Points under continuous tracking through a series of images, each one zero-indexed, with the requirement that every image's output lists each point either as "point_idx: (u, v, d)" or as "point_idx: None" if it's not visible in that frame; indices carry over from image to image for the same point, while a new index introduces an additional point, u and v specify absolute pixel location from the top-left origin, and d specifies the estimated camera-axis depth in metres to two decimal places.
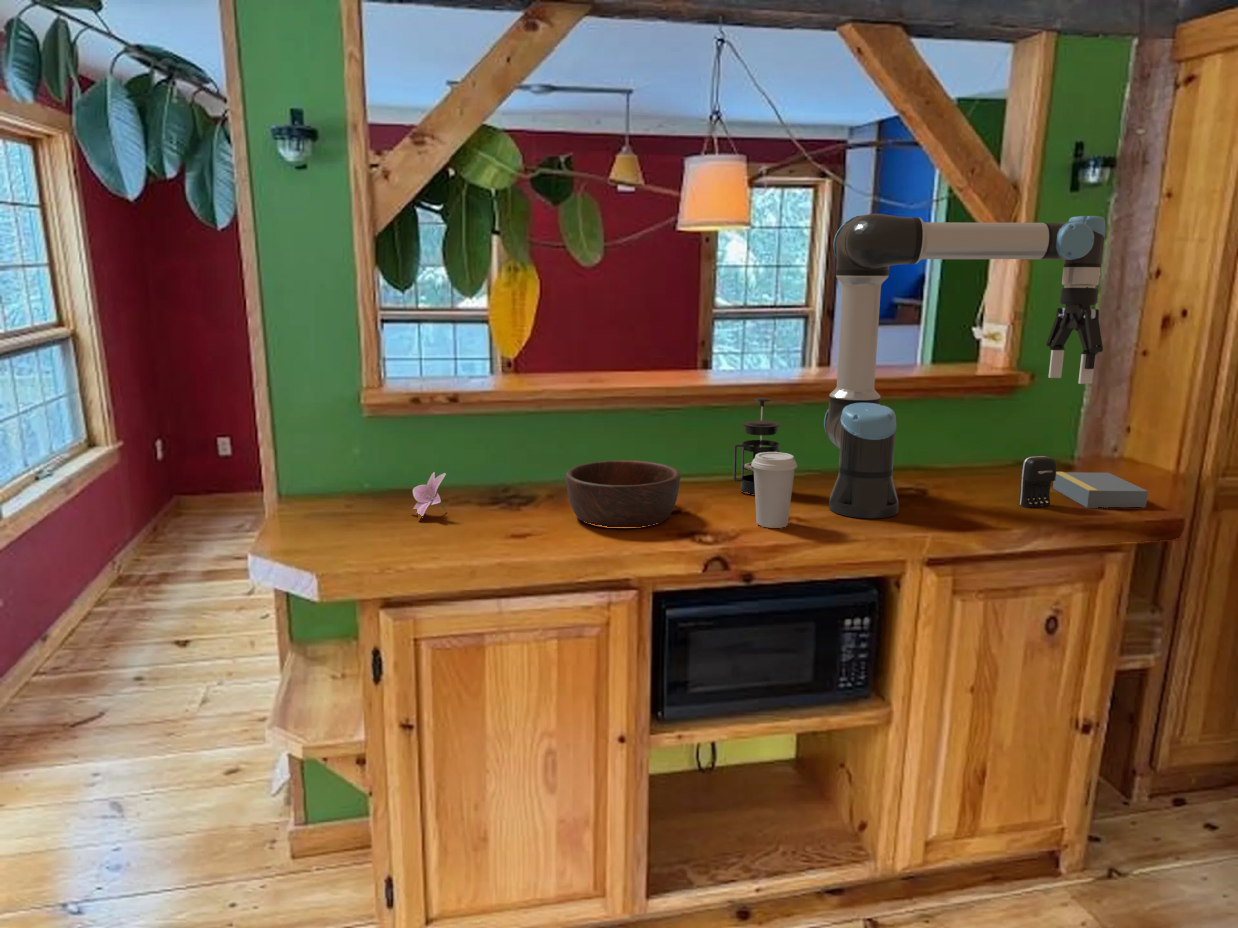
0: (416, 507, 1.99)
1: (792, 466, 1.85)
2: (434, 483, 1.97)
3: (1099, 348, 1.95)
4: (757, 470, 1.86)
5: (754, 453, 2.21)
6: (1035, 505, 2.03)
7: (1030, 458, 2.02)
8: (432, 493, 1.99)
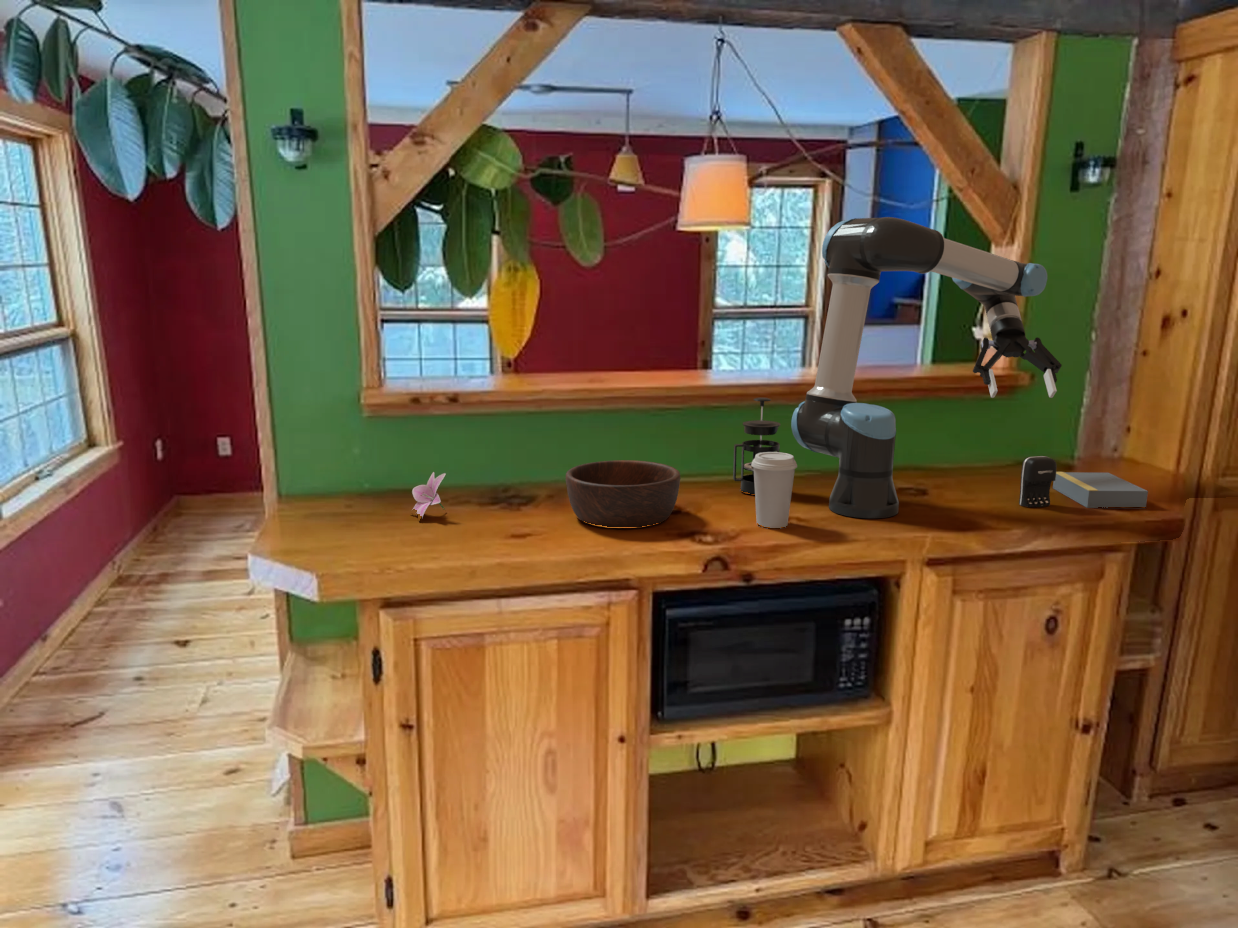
0: (416, 507, 1.99)
1: (792, 466, 1.85)
2: (434, 483, 1.97)
3: None
4: (757, 470, 1.86)
5: (754, 453, 2.21)
6: (1035, 505, 2.03)
7: (1030, 458, 2.02)
8: (432, 493, 1.99)
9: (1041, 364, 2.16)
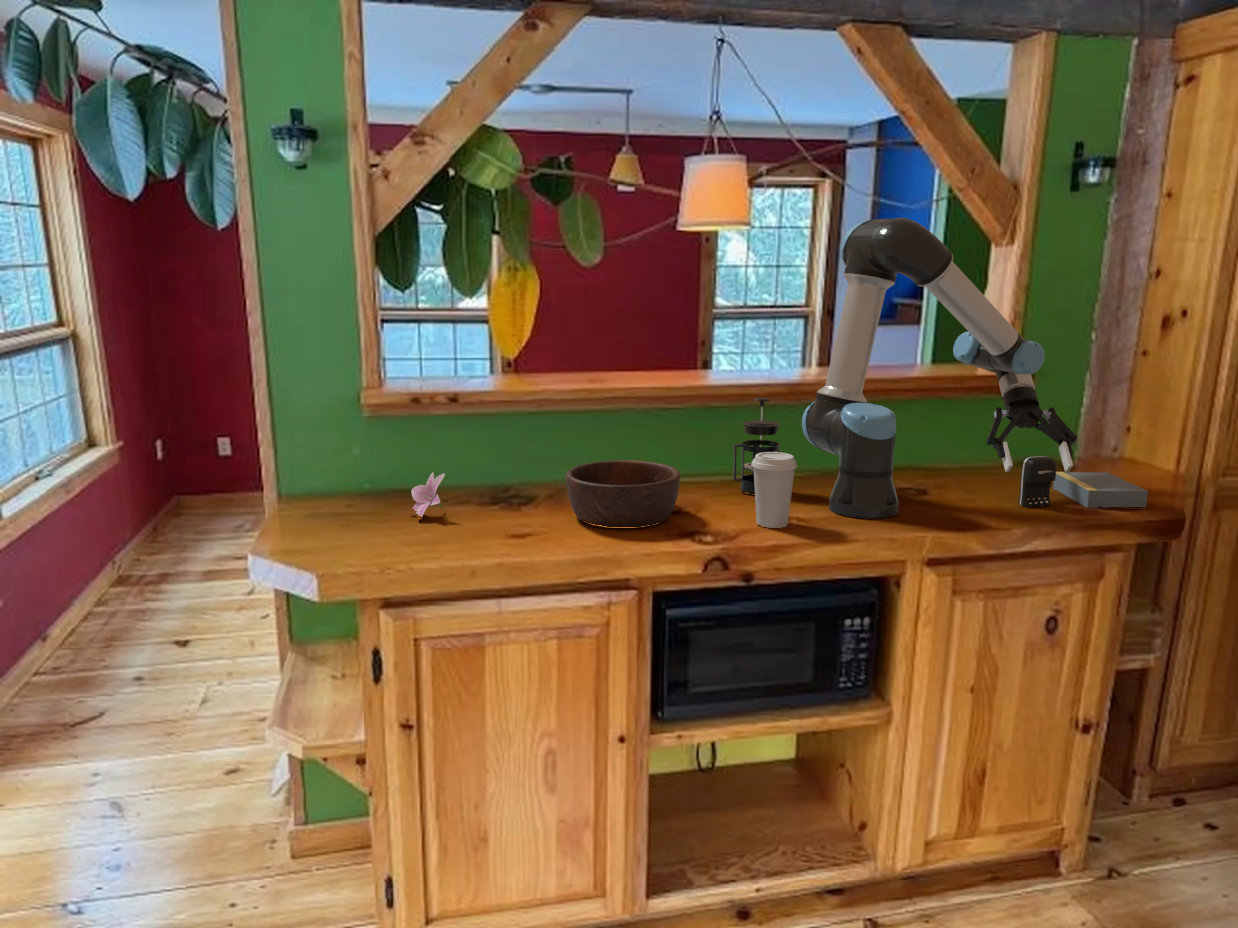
0: (415, 507, 1.99)
1: (792, 466, 1.85)
2: (433, 483, 1.97)
3: None
4: (757, 470, 1.86)
5: (754, 453, 2.21)
6: (1035, 505, 2.03)
7: (1030, 458, 2.02)
8: (431, 493, 1.99)
9: (1056, 436, 2.09)
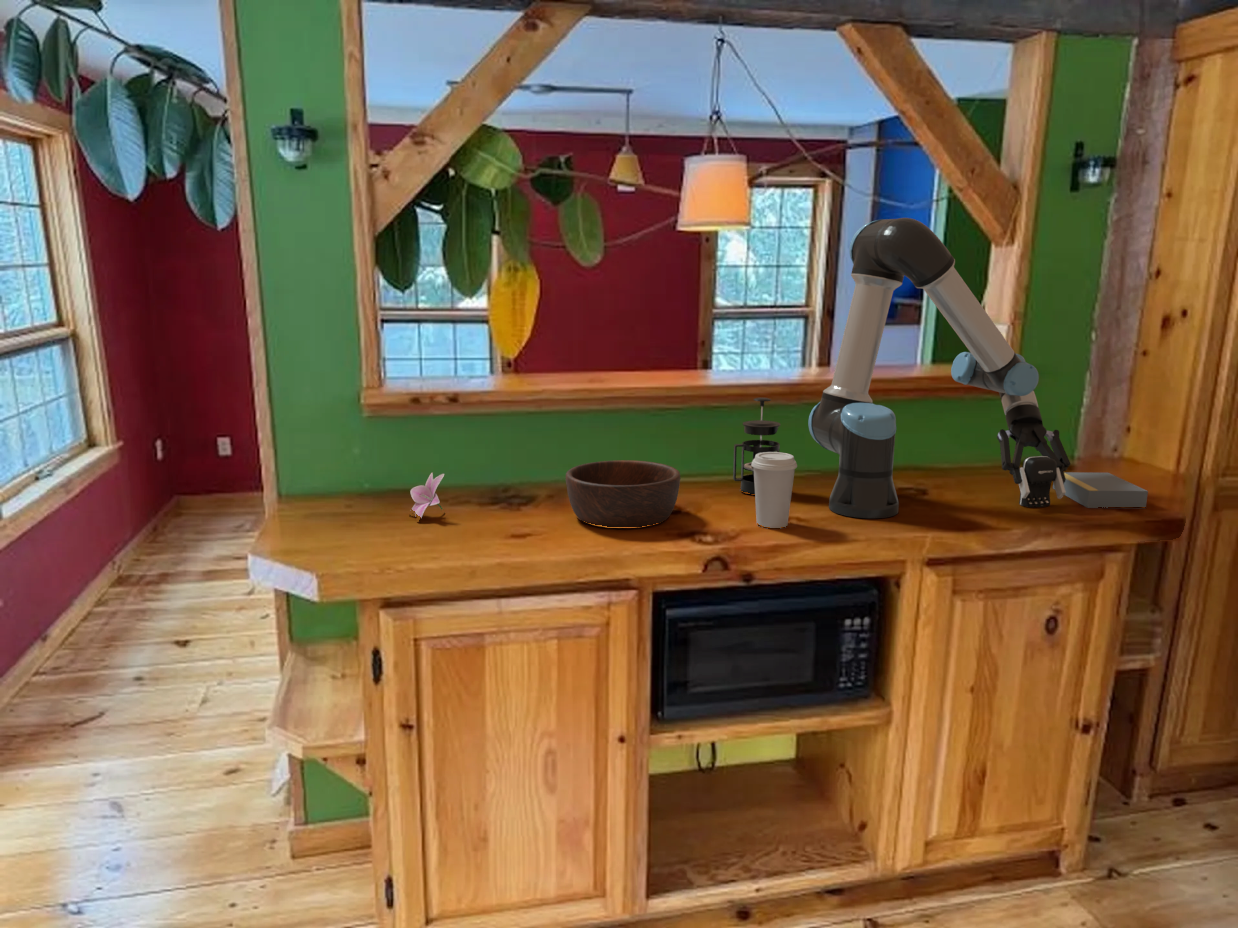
0: (414, 508, 1.98)
1: (792, 466, 1.85)
2: (432, 484, 1.97)
3: None
4: (757, 470, 1.86)
5: (754, 453, 2.21)
6: (1035, 505, 2.03)
7: (1030, 458, 2.02)
8: (430, 494, 1.98)
9: None
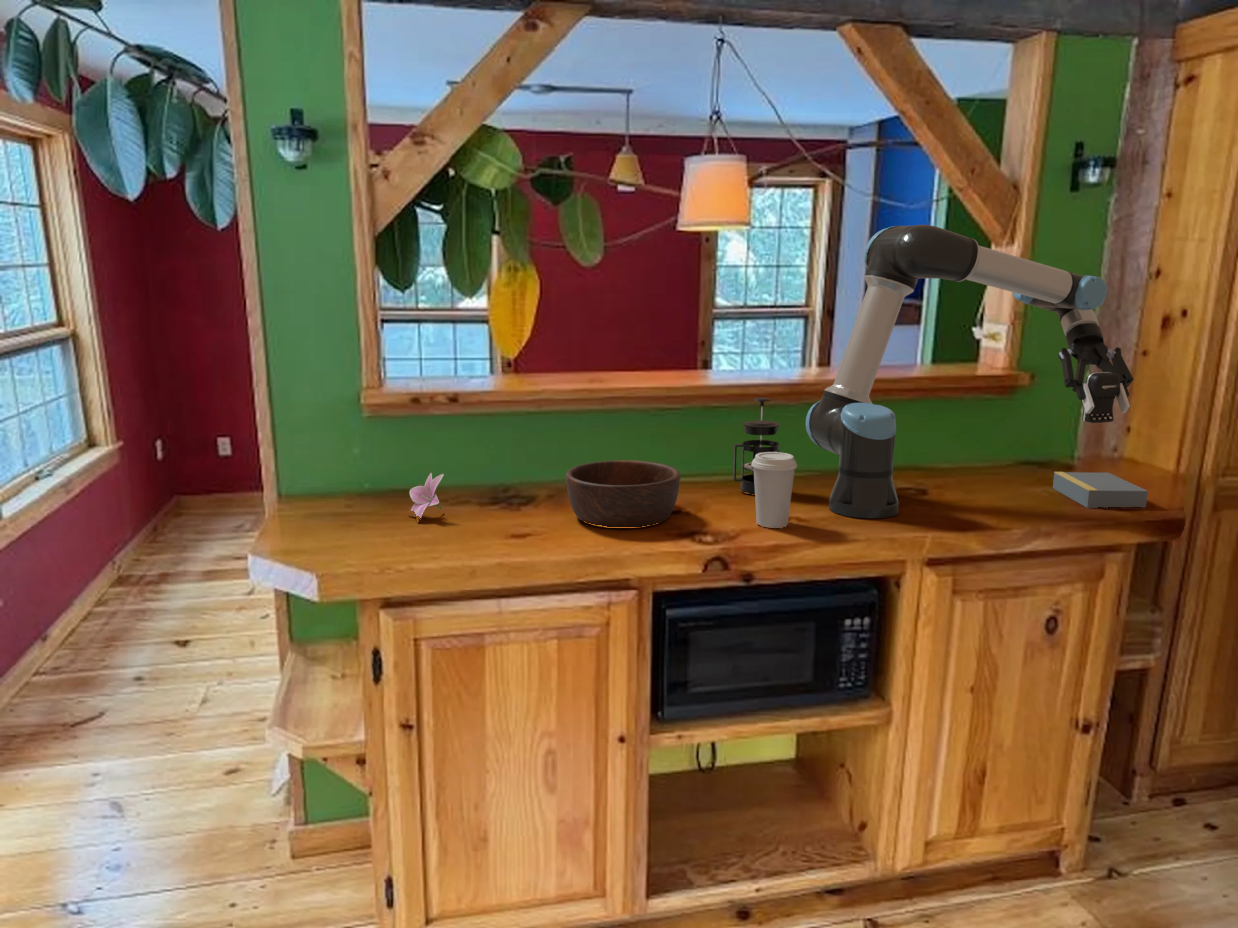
0: (413, 508, 1.98)
1: (792, 466, 1.85)
2: (432, 484, 1.97)
3: None
4: (757, 470, 1.86)
5: (754, 453, 2.21)
6: (1099, 420, 2.05)
7: (1094, 374, 2.04)
8: (429, 494, 1.98)
9: None
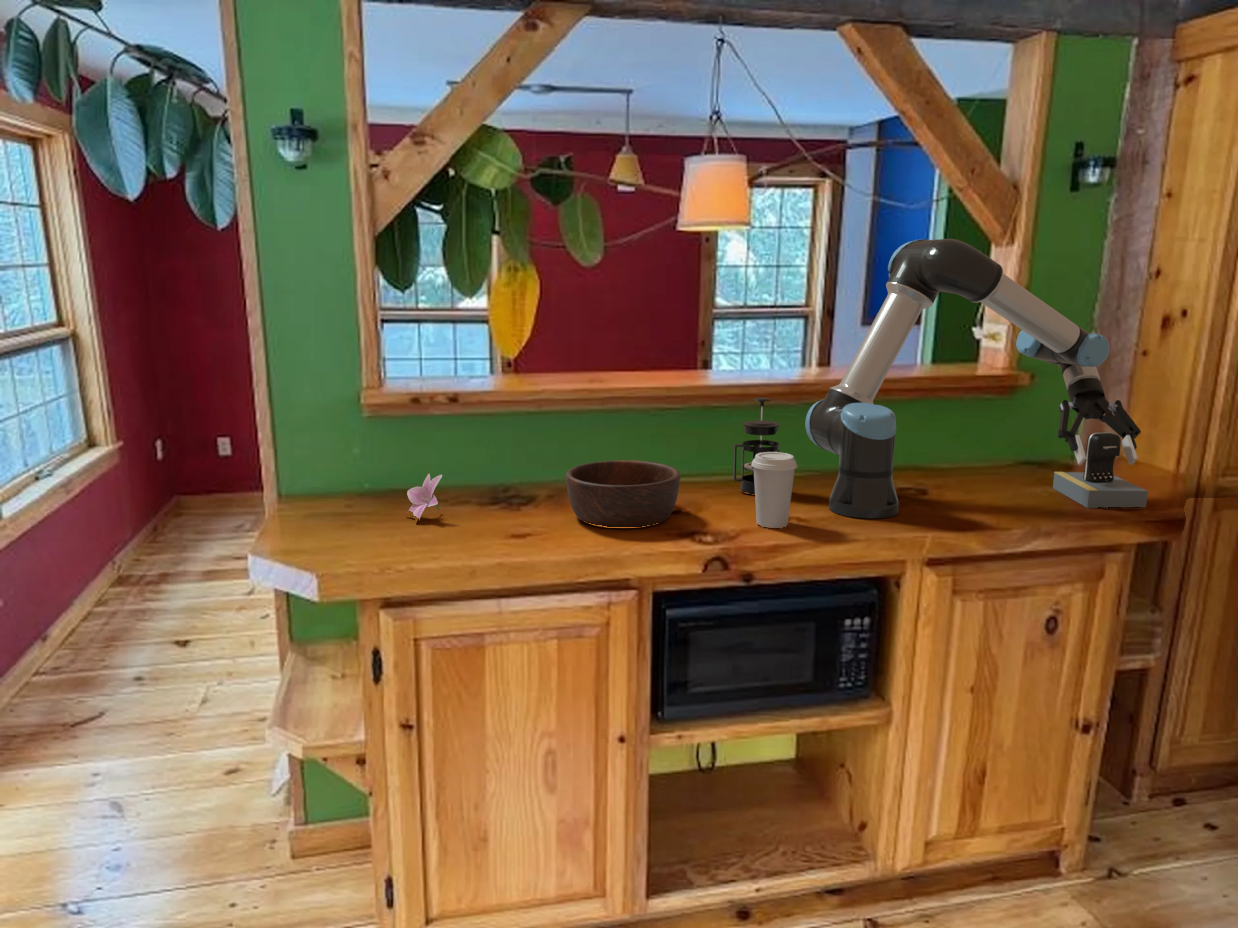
0: (411, 509, 1.97)
1: (792, 466, 1.85)
2: (430, 485, 1.96)
3: None
4: (757, 470, 1.86)
5: (754, 453, 2.21)
6: (1099, 480, 2.09)
7: (1095, 434, 2.08)
8: (428, 495, 1.97)
9: (1120, 429, 2.11)
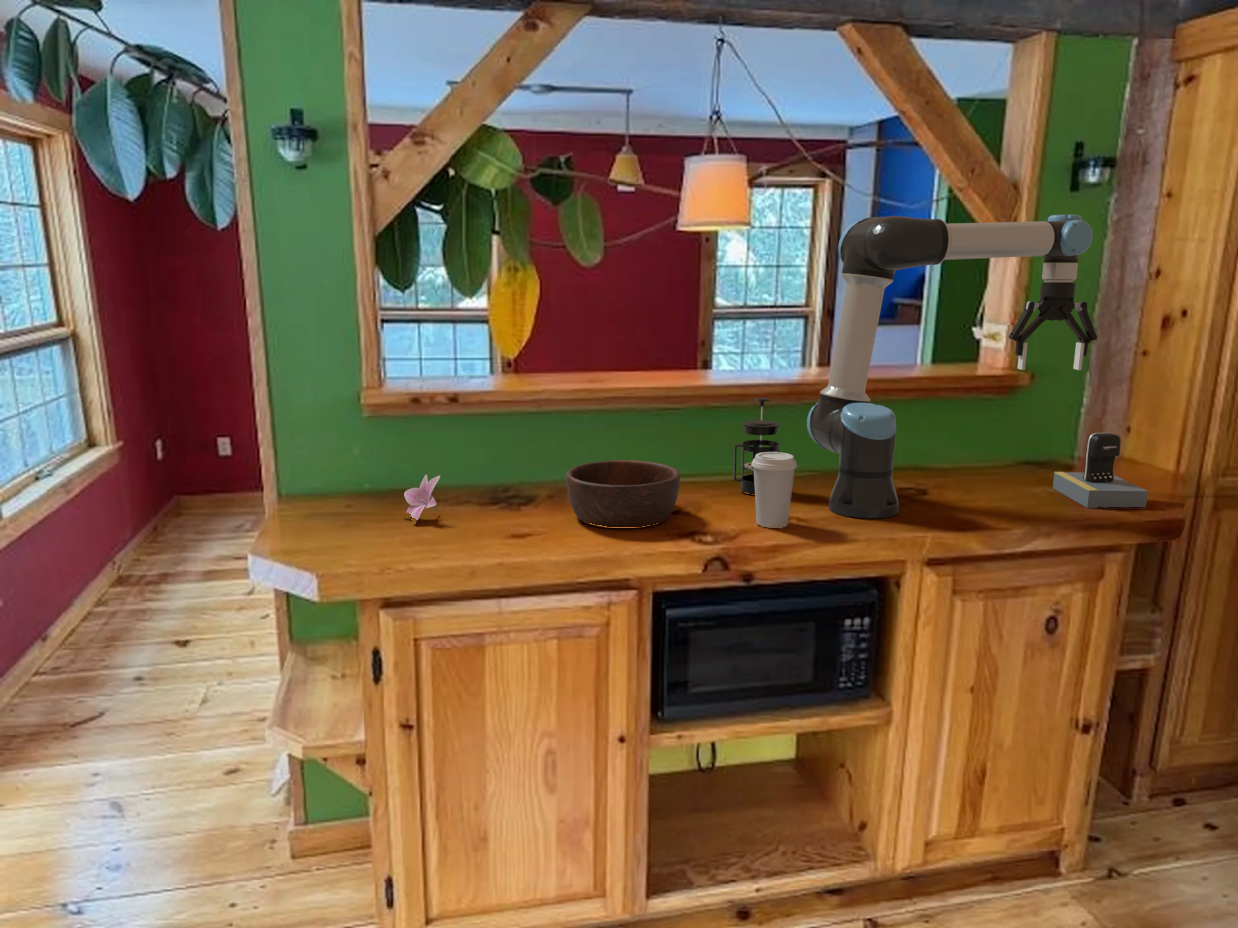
0: (409, 511, 1.96)
1: (792, 466, 1.85)
2: (428, 486, 1.95)
3: None
4: (757, 470, 1.86)
5: (754, 453, 2.21)
6: (1099, 480, 2.09)
7: (1095, 434, 2.08)
8: (425, 496, 1.96)
9: (1078, 334, 2.18)
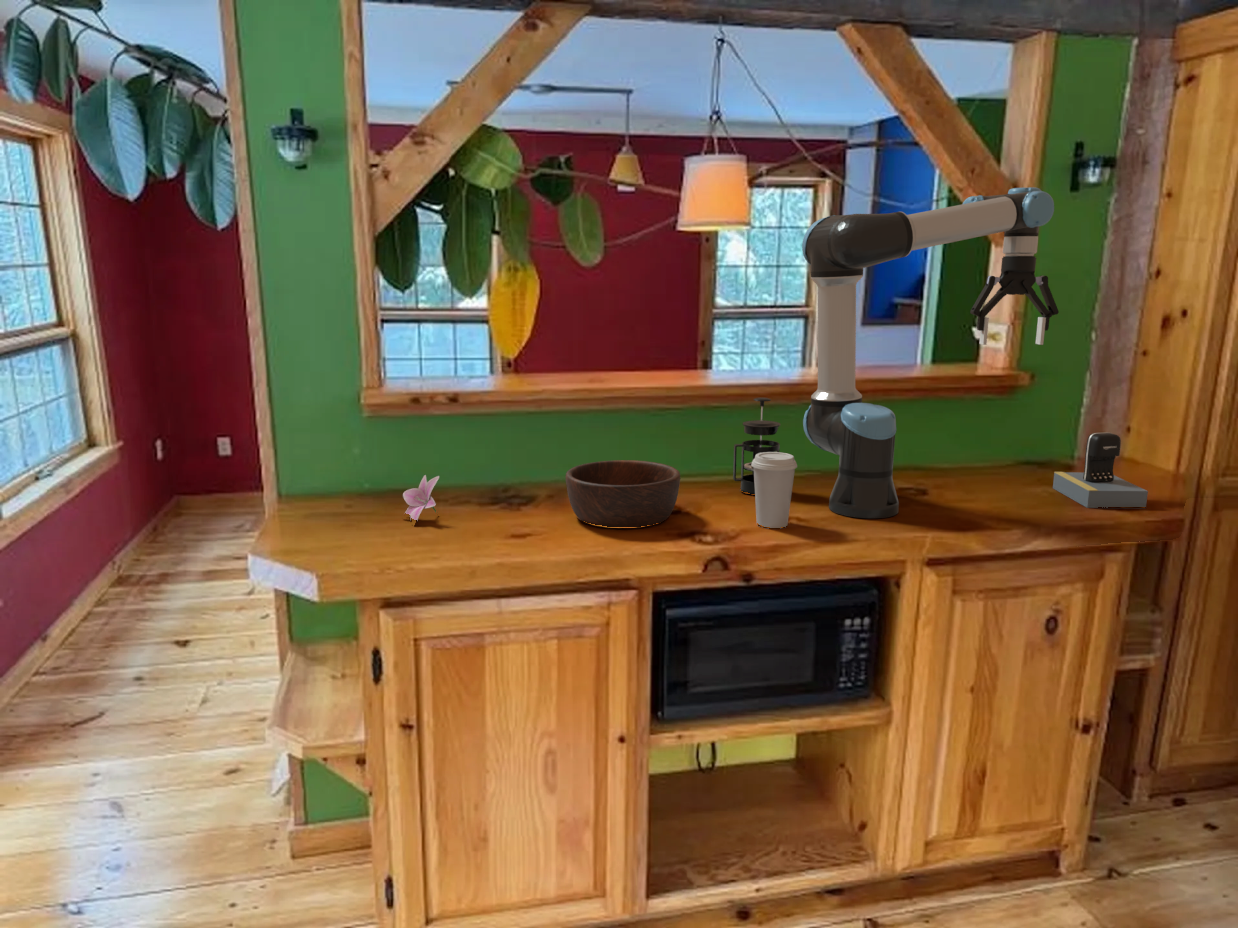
0: (408, 511, 1.96)
1: (792, 466, 1.85)
2: (427, 486, 1.95)
3: None
4: (757, 470, 1.86)
5: (754, 453, 2.21)
6: (1099, 480, 2.09)
7: (1095, 434, 2.08)
8: (424, 497, 1.96)
9: (1039, 308, 2.16)
